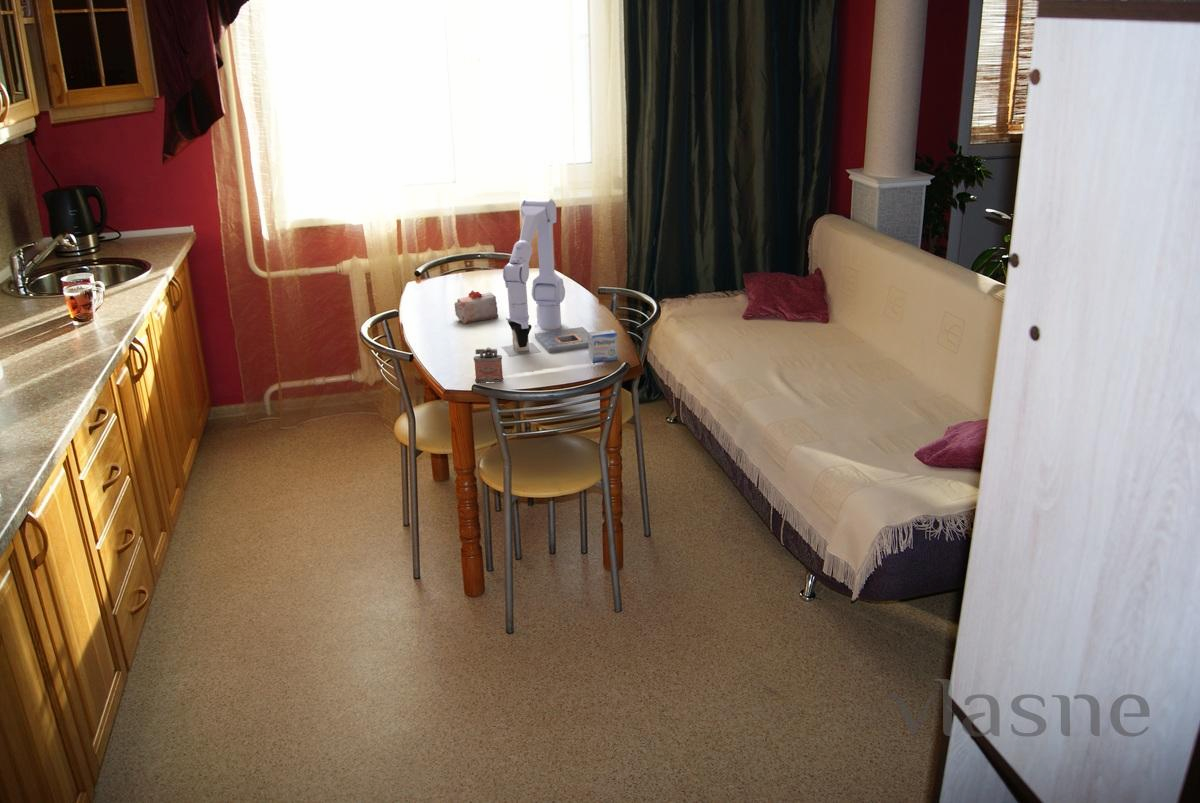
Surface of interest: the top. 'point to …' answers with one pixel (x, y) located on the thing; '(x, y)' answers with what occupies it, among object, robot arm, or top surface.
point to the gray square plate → (512, 352)
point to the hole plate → (563, 339)
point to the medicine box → (603, 345)
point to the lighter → (488, 366)
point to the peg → (516, 345)
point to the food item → (476, 307)
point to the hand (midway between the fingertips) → (520, 344)
